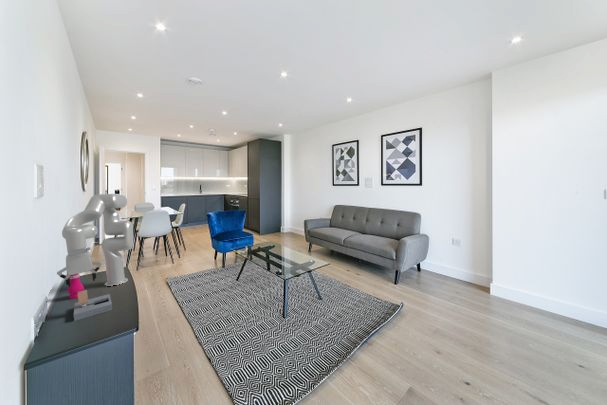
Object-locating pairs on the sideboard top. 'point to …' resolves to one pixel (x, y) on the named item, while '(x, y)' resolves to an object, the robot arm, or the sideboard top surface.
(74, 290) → the pepper mill
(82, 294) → the keyhole peg
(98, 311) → the keyhole board
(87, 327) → the sideboard top surface
